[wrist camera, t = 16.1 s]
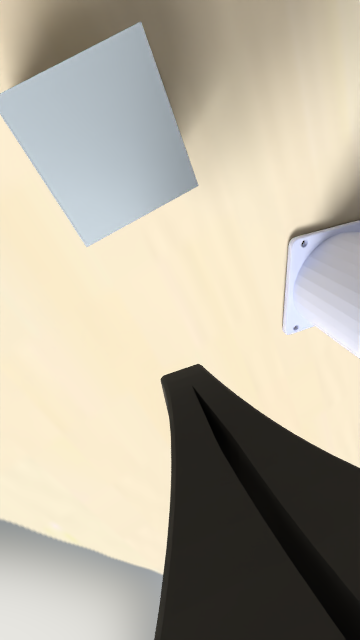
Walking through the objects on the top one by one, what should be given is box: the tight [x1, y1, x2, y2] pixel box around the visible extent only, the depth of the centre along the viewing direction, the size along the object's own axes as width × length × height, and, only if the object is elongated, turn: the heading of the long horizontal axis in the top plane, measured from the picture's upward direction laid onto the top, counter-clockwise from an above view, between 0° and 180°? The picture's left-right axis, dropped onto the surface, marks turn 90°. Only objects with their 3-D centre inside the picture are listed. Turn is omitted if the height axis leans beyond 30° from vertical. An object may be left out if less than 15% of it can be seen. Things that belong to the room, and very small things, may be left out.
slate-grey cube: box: [0, 22, 198, 247], centre depth 12 cm, size 5×5×5 cm
